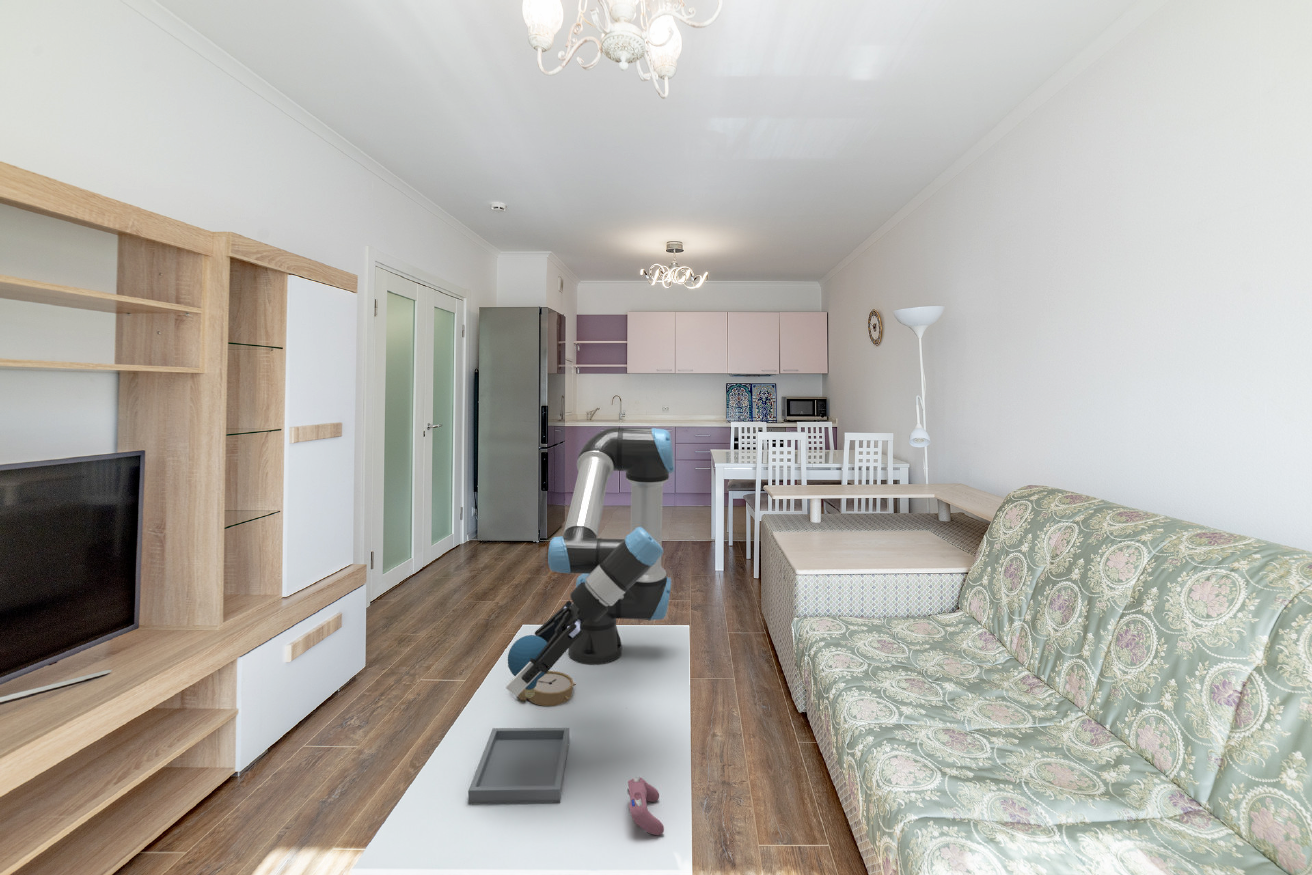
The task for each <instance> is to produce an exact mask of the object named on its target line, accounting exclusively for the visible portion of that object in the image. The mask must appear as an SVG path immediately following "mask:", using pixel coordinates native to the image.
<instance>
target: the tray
mask: <svg viewBox="0 0 1312 875" xmlns="http://www.w3.org/2000/svg"><path fill="white" fill-rule="evenodd" d="M570 732H571V731H570V727H492V729H491V732H490V735H489V737H488V740H487V742H486V745H485V748H484V750H483V752H482V755H481V757H480V760H479V763H478V765H477V767H476V770H475V772H474V775H473V778H472V780H471V783H470V786H469V788H468V790H467V791H468V797H467V800H468V802H467V804H468V805H496V804H498V805H499V804H501V803H502V804H503V805H505V804H506V805H507V804H559V803H561V802H560V801H561V796H562V789H563V783H564V775H565V769H566V762H567V757H568V756H567V755H568V750H569V745H570ZM568 744H569V745H568Z"/></svg>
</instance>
